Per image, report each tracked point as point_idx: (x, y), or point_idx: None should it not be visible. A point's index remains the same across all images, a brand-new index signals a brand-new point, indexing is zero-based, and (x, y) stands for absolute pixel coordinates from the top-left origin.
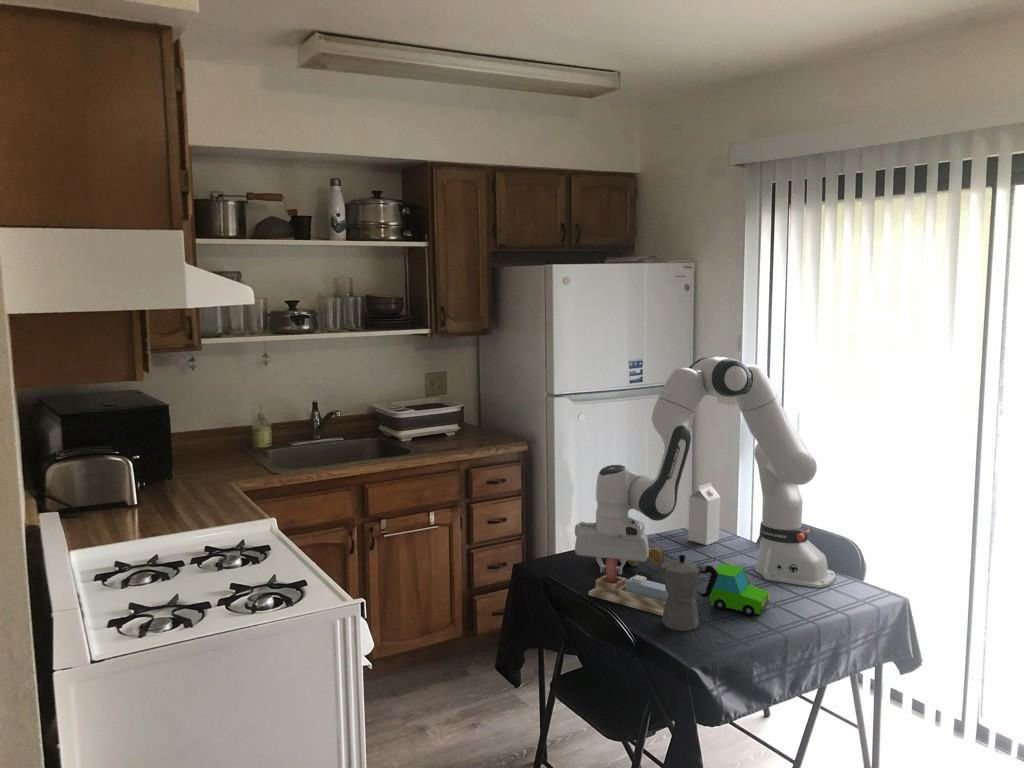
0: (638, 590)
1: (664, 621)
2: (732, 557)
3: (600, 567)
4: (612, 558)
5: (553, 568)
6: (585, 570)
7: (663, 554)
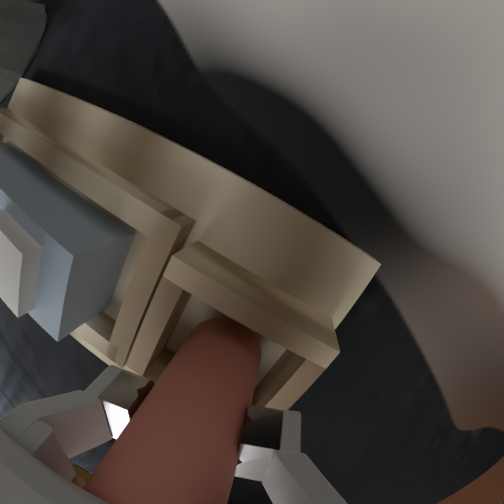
0: (42, 197)
1: (38, 17)
2: None
3: (299, 446)
4: (97, 498)
5: (442, 474)
6: (343, 491)
7: None
